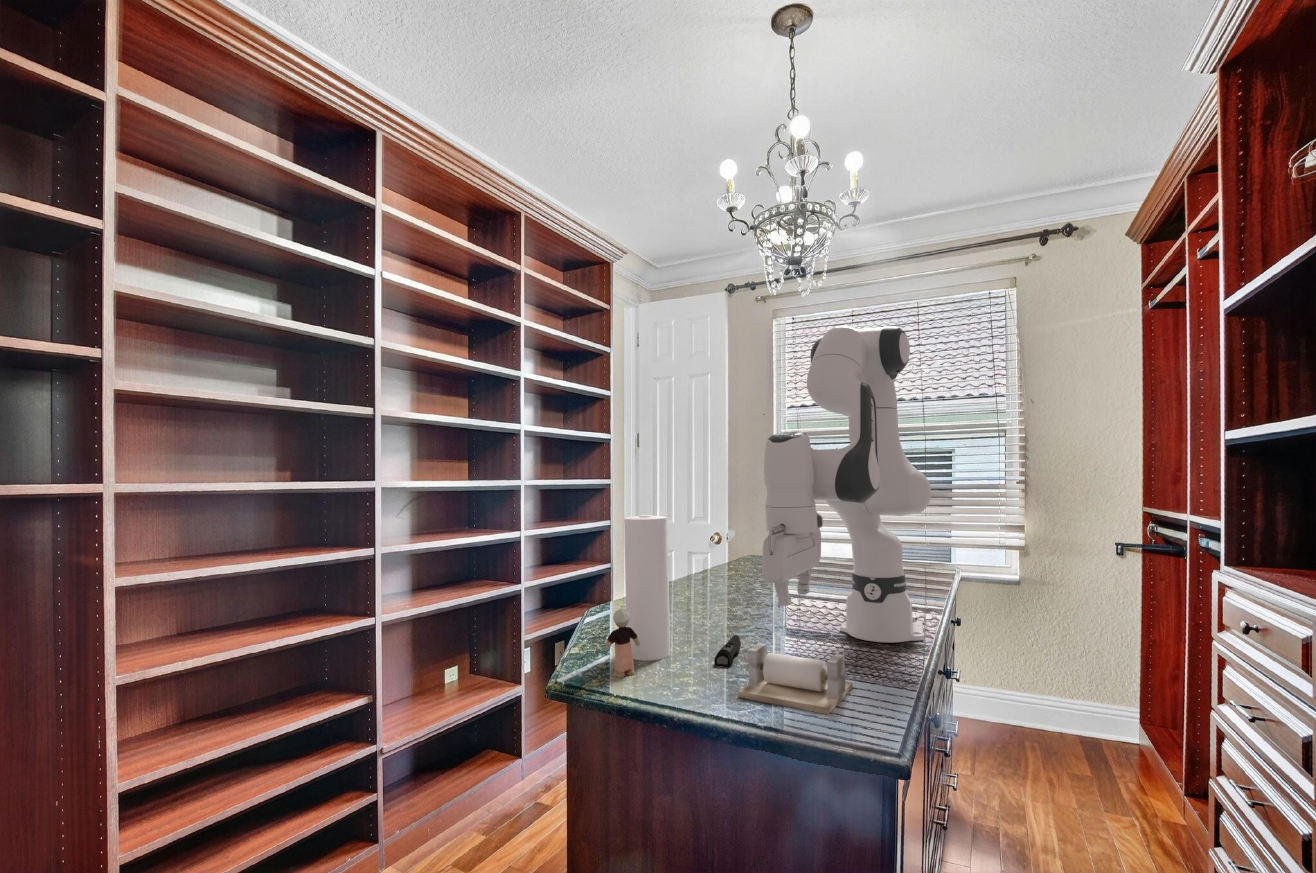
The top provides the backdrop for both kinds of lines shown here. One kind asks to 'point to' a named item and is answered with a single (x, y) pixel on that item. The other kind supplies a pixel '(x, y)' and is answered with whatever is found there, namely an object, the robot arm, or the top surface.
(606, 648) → the grandmother figurine
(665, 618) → the cylinder container
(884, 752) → the top surface
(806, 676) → the paper roll
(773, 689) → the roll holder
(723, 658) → the electric trimmer
